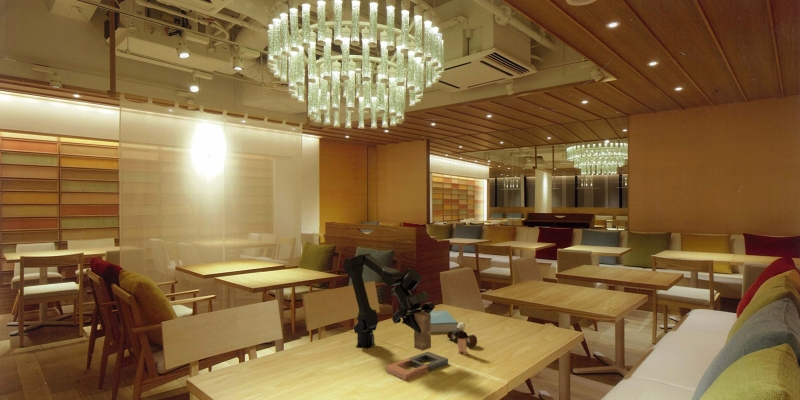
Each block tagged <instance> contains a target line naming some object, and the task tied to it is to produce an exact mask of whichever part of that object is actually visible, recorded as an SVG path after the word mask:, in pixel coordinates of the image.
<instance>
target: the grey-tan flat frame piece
mask: <svg viewBox="0 0 800 400" xmlns="http://www.w3.org/2000/svg"><path fill="white" fill-rule="evenodd" d="M424 361H427V362H428V363H422V362H424ZM447 365H449V358H447V357H445V356H442V355H439V354H437V353H433V352H430V351H425V352H423V353H419V354H417V355H414V356H411V357H407V358H405V359H403V360H400V361H397V362H393V363H391V364H388V365H385V372H386V373H388V374H389V375H392V376H395V377H396V378H399V379H401V380H404V381H409V380H411V379H414V378H416V377H419V376H422V375H424V374H427V373H430V372H431V371H435V370H436V369H439V368H441V367H444V366H447ZM409 366H411V367H413V369H409V370H408V369H406V368H408V367H409Z"/></svg>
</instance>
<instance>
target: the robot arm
mask: <svg viewBox="0 0 800 400" xmlns="http://www.w3.org/2000/svg"><path fill="white" fill-rule="evenodd" d="M364 266H365V267H367V268H368V269H370V270H371V271H372V272H374V273H375V274H377V275H378V276H379V278H380V280H381V282H382V283H383V284H384V285H385V286H386V287H391V290H390V293H389V294H390V296H394V295H395V297H396V298H397V301H398V302H399V304H398V306H399V307H402V308H399V309H397V310H396V311H395V313H394V314H393V315H392V322H393V323H394V324H399V323H401V324H403V325H405V326H408V327H410V328H411V329H412V330H415V331H417V332H418V333H421V330H420V327H419V326H418V324H417V322H416V320H415V317H414V313H418V312H426V313H430V312H431V311H434V309H435V308H436V306H435V304H434V302H431V301H429V302H427V301H428V299H429V294H428V293H427V291H426V290H424V291H420V293H419V294H415V293H414V294H412V292H411V291H413V290H414V289H415V288H416V287H417V285H418V284H419V283H420V282H421V281H422V276H421V275H420V273H418V272H417V271H415V270H413V269H412V268H408V269H406V271H405V273H402V272H401V271H400V270H398V269H395V268H394V267H393V268H392V267H388V266H386V265H385V264H384V263H382V262H381V261H379V260H378V259H376V258H375V257H374V256H372V255H371V254H370V253H367V252H366V253H360V254H359V255H357V256H354V257H347V258H346V259H345V260H344V262H343V269H344V272H345V273H346V275H347V276H348V277H349V278H350V279H351V283H352V286H353V287H352V288H353V291H354V295H355V299H356V302H357V307H358V313H357V316H356V317H357V323H356V324H355V325H354V327H353V331H354V333H355V334H357V344H356V345H355V347H356V348H362V349H370V348H371V347H373V346H374V345H375V343H376V342H375V334H374V331H376V330H377V327H378V324H379V317H378V314H377V309H373V308H372V307H371V305H370V302H369V297H368V294H367V290H366V285H365V282H364V279H363V273H364ZM392 286H394V287H392ZM424 302H425V303H424ZM423 303H424V304H423ZM401 320H402V321H401Z"/></svg>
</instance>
